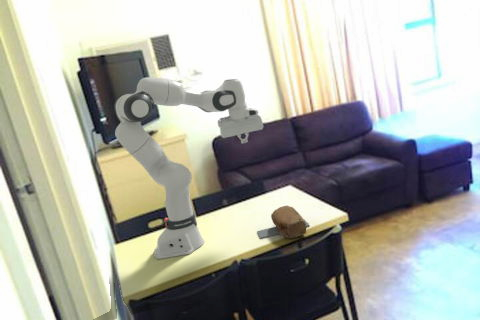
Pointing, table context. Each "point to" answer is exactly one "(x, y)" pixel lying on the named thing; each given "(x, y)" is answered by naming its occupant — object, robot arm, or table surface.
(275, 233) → the mat
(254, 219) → the table surface
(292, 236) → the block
